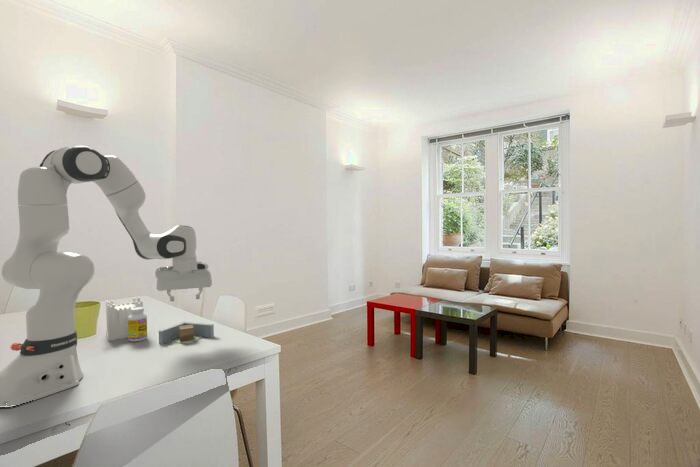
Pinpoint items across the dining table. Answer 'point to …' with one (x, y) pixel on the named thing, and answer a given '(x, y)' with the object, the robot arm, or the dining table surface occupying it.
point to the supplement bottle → (137, 325)
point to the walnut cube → (186, 333)
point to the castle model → (119, 318)
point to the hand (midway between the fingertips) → (185, 299)
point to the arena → (173, 333)
